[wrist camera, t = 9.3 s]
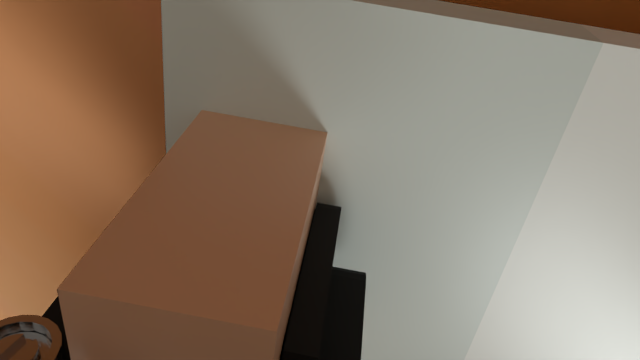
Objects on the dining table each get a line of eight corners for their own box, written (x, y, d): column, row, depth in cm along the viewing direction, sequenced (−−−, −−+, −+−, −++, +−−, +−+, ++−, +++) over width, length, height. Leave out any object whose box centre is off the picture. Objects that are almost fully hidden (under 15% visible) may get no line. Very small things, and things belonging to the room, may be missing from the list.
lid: (947, 75, 10) (1838, 402, 4) (667, 409, 16) (840, 749, 10) (201, -50, 10) (-69, 60, 4) (198, 318, 16) (81, 586, 10)
